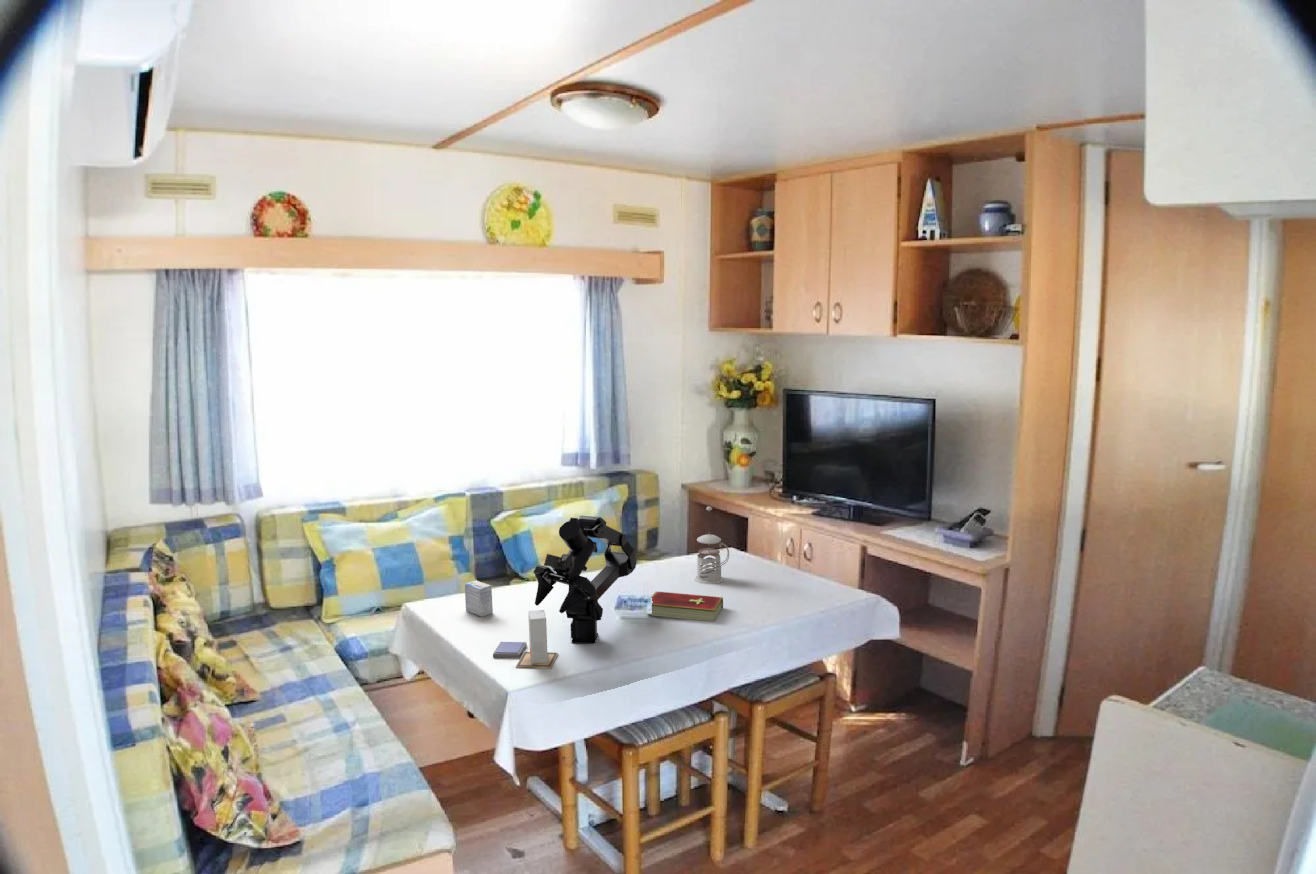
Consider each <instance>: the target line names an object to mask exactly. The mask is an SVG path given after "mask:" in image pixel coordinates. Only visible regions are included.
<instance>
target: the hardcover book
mask: <svg viewBox="0 0 1316 874" xmlns="http://www.w3.org/2000/svg"><path fill="white" fill-rule="evenodd" d="M650 598H652V601H653V603H652V615H651V616H655V617H663V618H664V617H665V618H677V619H686V620H696V621H706V622H707V621H708V622H714V621H715V620H716V618H717V616H718V615H719V614H720V611H721V610H722V609H724V597H723V596H713V595H712V596H711V595H699V594H691V593H690V594H688V593H679V592H667V591H655V592H653V593H652V595H651V596H650V597H649V599H650Z"/></svg>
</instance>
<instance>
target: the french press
mask: <svg viewBox="0 0 1316 874" xmlns="http://www.w3.org/2000/svg"><path fill="white" fill-rule="evenodd" d="M712 510H713V507H712V506H707V507H706V511H712ZM721 541H722V538H721V537H719V536H718V535H715V534H710V533H708V534H703V535H700V536H698V537H697V539H696V542H698V543H699V544H705V545H715V544H719V548H722V546H724V547H725V548H726V551H727V554H726V558H725V560H723V561H722V562H721V553H720V550H719V549H717V548H700V549H698V552H697V553H698V554H697V565H696V567H697V569H696V570H697V571H696V572H697V573H696V574H697V575H696V576H695V577H694V582H697V583H698V584H703V585H714V584H719V583H722V582H724V578H723V577H722V566H723V565H725V564H727V562H728V561H729V558H730V550H729V547H728V546H727V545H726V544H725V543H724V542H721ZM709 556H711V557H709Z"/></svg>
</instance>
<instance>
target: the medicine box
mask: <svg viewBox="0 0 1316 874" xmlns="http://www.w3.org/2000/svg"><path fill="white" fill-rule="evenodd" d="M492 591H493V590H492V585H491V584H488V583H485V582H481V581H479V580H473V581H469V582H466V583H464V596H465V600H464V601H465V611H466V612H467V613H471V614H473V615H476V616H479V617H485V616H488V615H492V614H493V613H494V609H493V595H492V594H493V593H492Z"/></svg>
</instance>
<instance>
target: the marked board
mask: <svg viewBox="0 0 1316 874" xmlns="http://www.w3.org/2000/svg"><path fill="white" fill-rule="evenodd" d="M547 655H548V662H544V663H535V664H532V662H531V656H530V651H523V653H522V655H521V656H520V658H519V660H518V662H517V664H516V665H515V668H517V669H552V668H553V665H554V664H555V661H556V659H557V657H558V655H559V652H548V651H547Z"/></svg>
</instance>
